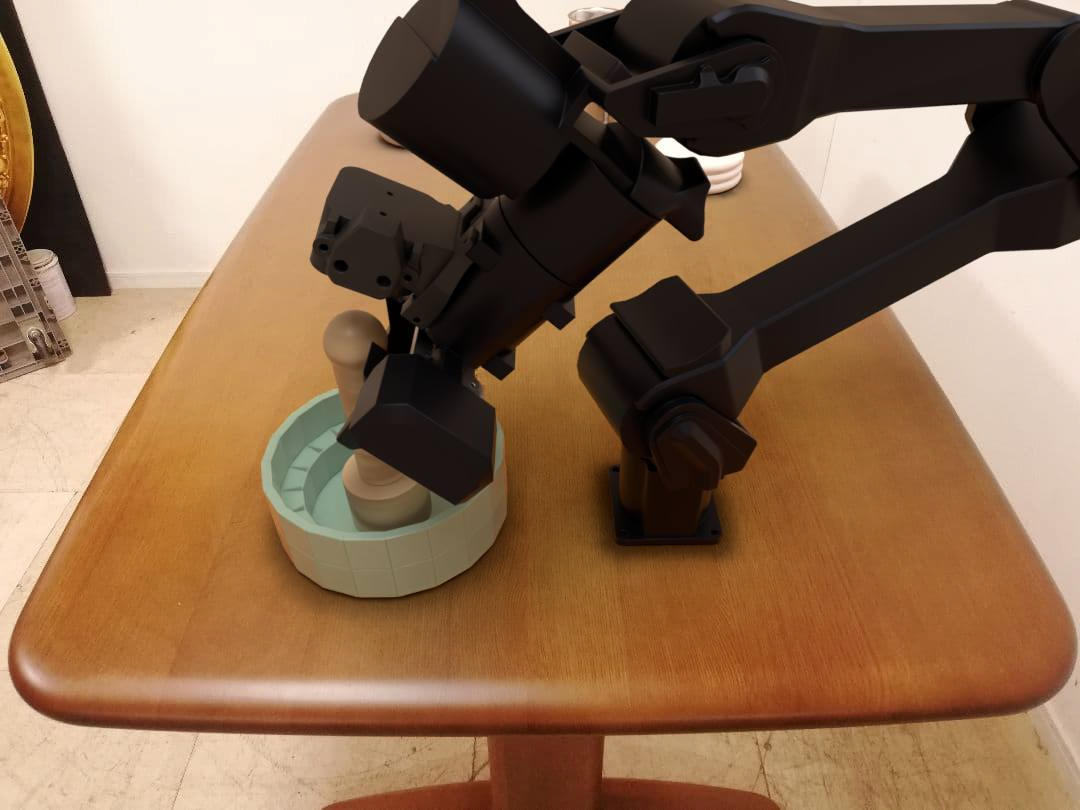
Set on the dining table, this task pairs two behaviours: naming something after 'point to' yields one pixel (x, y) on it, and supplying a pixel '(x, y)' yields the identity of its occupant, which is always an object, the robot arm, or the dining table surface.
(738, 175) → the coaster
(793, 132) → the robot arm
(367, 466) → the pestle
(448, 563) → the bowl
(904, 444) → the dining table surface
